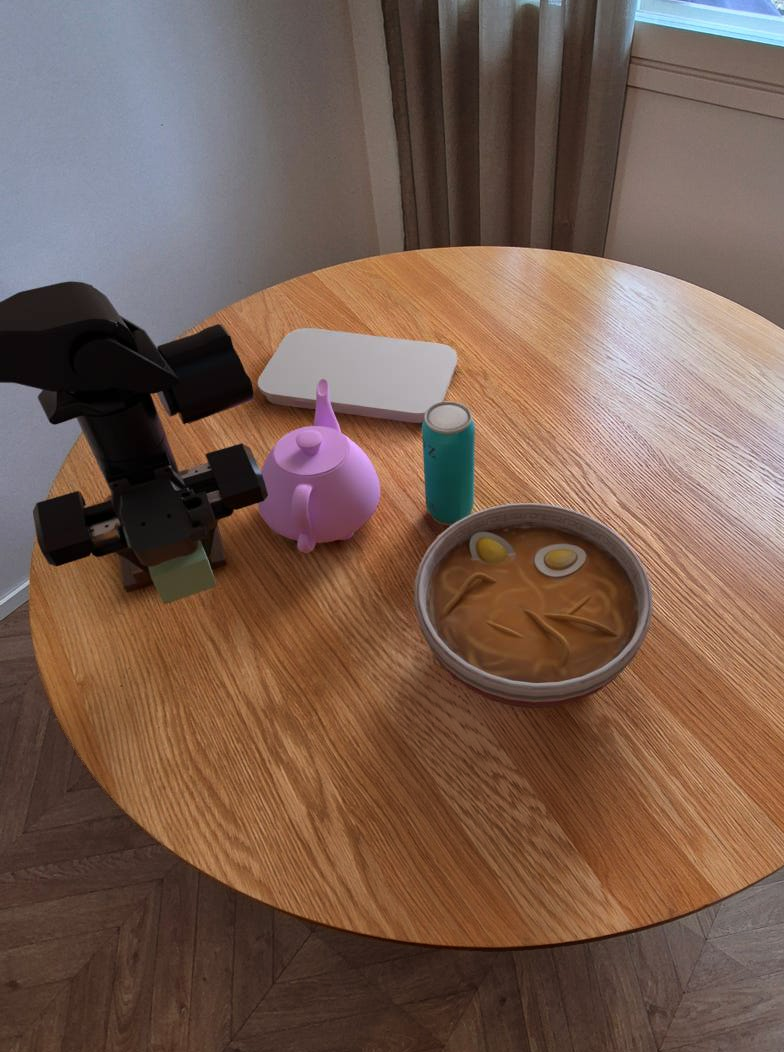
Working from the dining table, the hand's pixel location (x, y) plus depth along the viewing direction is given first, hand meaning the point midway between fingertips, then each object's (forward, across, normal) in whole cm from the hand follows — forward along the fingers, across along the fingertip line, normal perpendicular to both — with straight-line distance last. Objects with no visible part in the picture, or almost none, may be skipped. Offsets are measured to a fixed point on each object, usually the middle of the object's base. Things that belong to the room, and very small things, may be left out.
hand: (179, 562), depth 75 cm
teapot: (+11, +17, +12) cm, 23 cm away
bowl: (+11, +30, -17) cm, 36 cm away
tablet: (+11, +30, +34) cm, 46 cm away
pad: (+1, 0, 0) cm, 1 cm away
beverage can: (+11, +30, +4) cm, 33 cm away
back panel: (+11, -1, +17) cm, 20 cm away
